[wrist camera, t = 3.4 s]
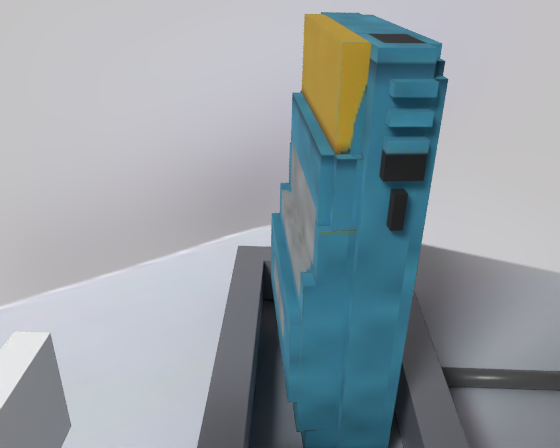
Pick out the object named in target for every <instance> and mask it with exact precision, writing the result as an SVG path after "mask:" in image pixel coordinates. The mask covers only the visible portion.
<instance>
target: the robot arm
mask: <svg viewBox="0 0 560 448" xmlns="http://www.w3.org/2000/svg"><path fill="white" fill-rule="evenodd" d="M70 428H71V422H70V418H69V414H68V409H67V405H66V400H65V396H64V391H63V387H62V383H61V378H60V374H59V369H58V365H57V360H56V356H55V351H54V347H53V343H52V338H51V334H50V333H42V332H14V333H13V334H12V335H11V337H10V338H9V339H8V341H7V342H6V343H5V345H4V346H3V347H2V349H1V350H0V448H61V447H62V445H63V442H64V440H65V438H66V436H67V434H68V432H69V430H70Z"/></svg>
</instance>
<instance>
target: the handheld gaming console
mask: <svg viewBox="0 0 560 448" xmlns="http://www.w3.org/2000/svg"><path fill="white" fill-rule="evenodd" d="M304 23H305V24H304V50H303V73H302V74H303V76H302V91H301V93H293V97H292V129H291V130H292V131H291V143H290V162H289V164H290V165H289V183H281V187H280V213H272V235H271V280H272V287H273V295H274V302H275V310H276V318H277V325H278V333H279V341H280V348H281V356H282V363H283V371H284V379H285V386H286V394H287V402H293V409H294V416H295V423H296V431H297V432H301V435H302V442H303V448H388V444H389V438H390V432H391V425H392V419H393V413H394V407H395V401H396V395H397V389H398V383H399V377H400V370H401V364H402V358H403V352H404V346H405V340H406V334H407V328H408V321H409V315H410V309H411V303H412V297H413V291H414V285H415V279H416V273H417V266H418V260H419V254H420V248H421V242H422V236H423V230H424V224H425V218H426V211H427V205H428V199H429V193H430V187H431V181H432V174H433V169H434V163H435V156H436V150H437V144H438V138H439V132H440V125H441V120H442V113H443V108H444V101H445V95H446V89H447V83H448V79H447V78H445V77H444V76H443V72H444V65H445V61H444V60H442V59H440V55H441V48H442V43H439V42H437V41H435V40H432V39H430V38H427V37H425V36H422V35H420V34H417V33H415V32H412V31H410V30H408V29H405V28H403V27H400V26H398V25H396V24H393V23H391V22H388V21H386V20H383V19H381V18H378V17H376V16H374V15H362V14H360V13H328V12H321V14H305V22H304Z"/></svg>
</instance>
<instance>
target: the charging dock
mask: <svg viewBox="0 0 560 448" xmlns="http://www.w3.org/2000/svg"><path fill="white" fill-rule="evenodd" d="M263 299H267V300H274V295H273V287H272V280H271V247H258V246H238V250H237V255H236V260H235V264H234V269H233V274H232V279H231V284H230V289H229V294H228V299H227V304H226V309H225V314H224V318H223V323H222V328H221V333H220V338H219V343H218V348H217V353H216V358H215V363H214V368H213V373H212V377H211V382H210V387H209V392H208V397H207V402H206V407H205V412H204V417H203V422H202V427H201V431H200V436H199V441H198V446H197V448H249V440H250V430H251V420H252V410H253V400H254V389H255V379H256V369H257V359H258V349H259V339H260V328H261V318H262V308H263ZM448 386H458V387H486V388H514V389H542V390H560V371H534V370H506V369H477V368H449V367H441V366H440V363H439V360H438V357H437V354H436V351H435V349H434V346H433V343H432V340H431V337H430V334H429V332H428V329H427V326H426V323H425V320H424V317H423V315H422V312H421V309H420V306H419V303H418V300H417V298H416V295H415V292H414V291H413V297H412V303H411V309H410V315H409V321H408V328H407V334H406V340H405V346H404V352H403V358H402V364H401V370H400V377H399V383H398V389H397V395H396V401H395V411H396V416H397V420H398V425H399V429H400V434H401V439H402V443H403V448H469V445H468V442H467V439H466V437H465V434H464V431H463V428H462V425H461V422H460V420H459V417H458V414H457V411H456V408H455V405H454V403H453V400H452V397H451V394H450V391H449V388H448Z"/></svg>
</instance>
